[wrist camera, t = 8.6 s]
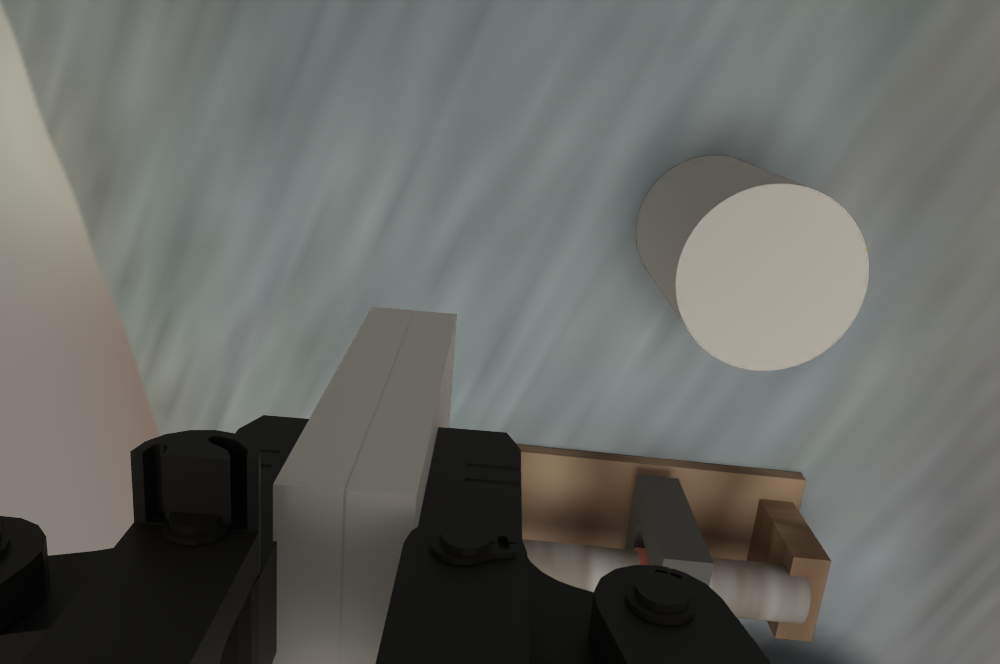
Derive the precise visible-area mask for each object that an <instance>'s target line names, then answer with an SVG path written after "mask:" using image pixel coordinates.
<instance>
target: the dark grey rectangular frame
mask: <svg viewBox="0 0 1000 664" xmlns="http://www.w3.org/2000/svg"><path fill="white" fill-rule="evenodd" d="M635 547H639V548H645V549H646V552H647V556H648V559H649V563H650V565H652V566H654V565H658V566H664V567H669V568H670V569H672V568H673V569H676V570H679V571H682V572H684V573H687V574H689V575H690V576H692V577H694V578H696V579H698V580H700V581H702V582H704V583H706V584H707V585H708V586H709V585H710V580H711V575H712V570H713V565H714V563H713V560H712V558H711V556H710V553H709V551H708V548H707V546H706V544H705V541H704V539H703V536H702V534H701V532H700V529H699V527H698V524H697V522H696V520H695V517H694V515H693V512H692V510H691V508H690V505H689V503H688V500H687V498H686V496H685V493H684V491H683V488H682V486H681V484H680V481H679V479H678V478H669V477H659V476H649V475H639V474H637V477H636V483H635V489H634V495H633V501H632V507H631V513H630V519H629V525H628V531H627V537H626V543H625V549H630V550H634V548H635Z"/></svg>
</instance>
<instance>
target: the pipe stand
mask: <svg viewBox="0 0 1000 664" xmlns="http://www.w3.org/2000/svg"><path fill="white" fill-rule="evenodd" d="M517 446H518V447H519V448H520V449H521V490H522V540H523V543H524V545H525V548H526V551H527V557H528V558H529V560H530V561H531V563H533V564H534V565H535V566H536V567H537V568H538V569H540V570H541V571H542V572H543V573H545V574H547V575H549V576H550V577H552V578H554V579H556V580H558V581H560V582H563V583H566V584H569V585H571V586H574V587H577V588H581V589H584V590H588V591H591V592H594V590H595V588H596V586H597V584H598V582H599V580H600V578H601V577H603V576H604V575H606V574H608V573H609V572H611V571H613V570H614V569H616V568H622V567H627V566H632V565H650V563H649V559H648V556H647V552H646V549H645V548H639V547H635V548H634V550H630V549H625V543H626V537H627V531H628V525H629V519H630V513H631V507H632V501H633V495H634V489H635V483H636V477H637V474H639V475H649V476H659V477H669V478H678V479H679V481H680V484H681V486H682V488H683V491H684V493H685V496H686V498H687V500H688V503H689V505H690V508H691V510H692V512H693V515H694V517H695V520H696V522H697V524H698V527H699V529H700V532H701V534H702V536H703V539H704V541H705V544H706V546H707V548H708V551H709V553H710V556H711V558H712V560H713V563H714V565H713V570H712V575H711V580H710V585H709V587H710V588H711V589H713V590H714V591H715V592H716V593H717V594H718V595H719V596H720V597H721V598H722V599H723V600H724V602H725V603H726V604H727V606H728V607H729V608H730V610H731V611H732V612H733V614H734V615H735V616H736V618H744V619H754V620H765V621H767V622H768V624H769V626H770V628H771V631H772V633H773V635H774V637H775V638H778V639H788V640H799V641H809V642H812V638H813V634H814V630H815V626H816V621H817V617H818V613H819V609H820V605H821V601H822V597H823V593H824V589H825V584H826V580H827V576H828V572H829V568H830V564H831V560H830V558H829V557H828V555H827V554H826V552H825V551H824V549H823V548H822V546H821V545H820V543H819V542H818V540H817V538H816V537H815V535H814V534H813V532H812V531H811V529H810V528H809V526H808V525H807V523H806V522H805V520H804V519H803V517H802V516H801V514H800V513H799V509H800V504H801V500H802V496H803V491H804V487H805V482H806V480H805V478H804V477H803V475H802V474H801V473H798V472H788V471H778V470H768V469H758V468H748V467H738V466H728V465H718V464H708V463H698V462H688V461H678V460H668V459H658V458H648V457H638V456H628V455H618V454H608V453H598V452H588V451H578V450H568V449H558V448H548V447H538V446H528V445H518V444H517Z"/></svg>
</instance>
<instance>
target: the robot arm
mask: <svg viewBox="0 0 1000 664" xmlns="http://www.w3.org/2000/svg"><path fill="white" fill-rule="evenodd" d="M456 318H457V314H448V313H436V312H424V311H412V310H400V309H388V308H376V307H372V308H371V310H370V311H369V313H368V315H367V317H366V318H365V320H364V322H363V324H362V326H361V327H360V329H359V331H358V333H357V335H356V336H355V338H354V340H353V342H352V344H351V345H350V347H349V349H348V351H347V353H346V354H345V356H344V358H343V360H342V362H341V363H340V365H339V367H338V369H337V370H336V372H335V374H334V376H333V378H332V379H331V381H330V383H329V385H328V387H327V388H326V390H325V392H324V394H323V396H322V397H321V399H320V401H319V403H318V405H317V406H316V408H315V410H314V412H313V414H312V415H311V417H310V419H302V418H290V417H278V416H266V415H263V416H262V417H260V418H258V419H256V420H254V421H252V422H251V423H249V424H247V425H245V426H243V427H241V428H239V429H238V430H237V432H236V433H235V434H234V433H229V432H223V431H217V430H189V431H183V432H177V433H170V434H165V435H163V436H160V437H157V438H154V439H151V440H148V441H145V442H144V443H142V444H141V445H139V446H138V447H137V448H135V449H134V450H132V451H131V470H132V489H133V508H134V523H133V524H132V526H131V527H130V528H129V530H128V531H127V532H126V533H125V534H124V536H123V537H122V538H121V539H120V541H119V542H118V543H117V544H116V546H115V547H114V548H111V549H105V550H99V551H91V552H81V553H72V554H62V555H52V556H48V555H47V543H46V536H45V534H44V533H43V531H42V530H41V529H40V527H39V526H38V525H36V524H34V523H31V522H29V521H27V520H24V519H22V518H14V517H4V516H0V664H272V662H273V664H771V663H770V661H769V660H768V659H767V657H766V656H765V655H764V653H763V652H762V651H761V649H760V648H759V647H758V645H757V644H756V643H755V641H754V640H753V639H752V637H751V636H750V635H749V633H748V632H747V631H746V629H745V628H744V627H743V625H742V624H741V623H740V621H739V620H738V619H737V618H736V616H735V615H734V614H733V612H732V611H731V610H730V608H729V607H728V606H727V604H726V603H725V602H724V600H723V599H722V598H721V597H720V596H719V595H718V594H717V593H716V592H715V591H714V590H713V589H711V588H710V587H709V586H708V585H707V584H706V583H704V582H702V581H700V580H698V579H696V578H694V577H692V576H690V575H689V574H687V573H684V572H682V571H679V570H676V569H673V568H672V569H670V568H669V567H664V566H658V565H654V566H652V565H632V566H627V567H622V568H616V569H614V570H613V571H611V572H609V573H608V574H606V575H604V576H603V577H601V578H600V580H599V582H598V584H597V586H596V588H595V590H594V592H591V591H588V590H584V589H581V588H577V587H574V586H571V585H569V584H566V583H563V582H560V581H558V580H556V579H554V578H552V577H550V576H549V575H547V574H545V573H543V572H542V571H541V570H540V569H538V568H537V567H536V566H535V565H534V564H533V563H531V561H530V560H529V558H528V557H527V551H526V548H525V545H524V543H523V540H522V490H521V449H520V448H519V447H518V446H517V444H516V443H515V442H514V441H513V440H512V439H511V437H510V436H509V435H508V434H507V433H503V432H491V431H479V430H467V429H455V428H449V418H450V404H451V390H452V375H453V361H454V347H455V332H456Z"/></svg>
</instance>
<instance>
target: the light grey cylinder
mask: <svg viewBox="0 0 1000 664" xmlns="http://www.w3.org/2000/svg"><path fill="white" fill-rule="evenodd" d="M636 241H637V247H638V252H639V255H640V258H641V260H642V262H643V264H644V266H645V268H646V270H647V271H648V273H649V274H650V276H651V277H652V278H653V280H654V281H655V283H656V284H657V286H658V287H659V289H660V290H661V292H662V293H663V295H664V296H665V297H666V299H667V300H668V302H669V303H670V305H671V306H672V308H673V309H674V311H675V312H676V313H677V315H678V316H679V318H680V319H681V321H682V322H683V324H684V325H685V327H686V328H687V329H688V331H689V332H690V334H691V335H692V336H693V338H694V339H695V340H696V341H697V343H698V344H699V345H700V346H701V347H702V348H703V349H705V350H706V351H707V352H708V353H710V354H711V355H713V356H714V357H716V358H717V359H719V360H721V361H723V362H725V363H727V364H730V365H732V366H735V367H739V368H743V369H748V370H756V371H772V370H780V369H785V368H789V367H793V366H796V365H799V364H802V363H804V362H807V361H809V360H811V359H813V358H814V357H816V356H818V355H820V354H821V353H823V352H824V351H826V350H827V349H828V348H829V347H831V346H832V345H833V344H834V343H835V342H836V341H838V340H839V338H840V337H841V336H842V335H843V334H844V333H845V332H846V331H847V329H848V328H849V327H850V325H851V324H852V322H853V321H854V319H855V318H856V316H857V314H858V312H859V310H860V308H861V305H862V303H863V300H864V297H865V294H866V290H867V285H868V277H869V261H868V253H867V249H866V245H865V242H864V239H863V236H862V234H861V232H860V230H859V228H858V226H857V224H856V223H855V221H854V220H853V218H852V217H851V216H850V215H849V213H848V212H847V211H846V210H845V209H844V208H843V207H842V206H841V205H839V204H838V203H837V202H836V201H834V200H833V199H831V198H830V197H828V196H827V195H825V194H823V193H821V192H819V191H816V190H814V189H811V188H809V187H806V186H804V185H801V184H799V183H796V182H794V181H791V180H789V179H786V178H783V177H781V176H778V175H776V174H773V173H771V172H768V171H766V170H763V169H761V168H758V167H756V166H753V165H751V164H748V163H746V162H743V161H741V160H738V159H735V158H731V157H726V156H703V157H698V158H694V159H691V160H688V161H685V162H683V163H681V164H679V165H677V166H675V167H674V168H672V169H670V170H669V171H668V172H666V173H665V174H664V175H663V176H662V177H660V179H659V180H658V181H657V182H656V183H655V184H654V185H653V186H652V188H651V189H650V190H649V192H648V194H647V195H646V197H645V199H644V201H643V203H642V205H641V208H640V211H639V214H638V219H637V225H636Z"/></svg>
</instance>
